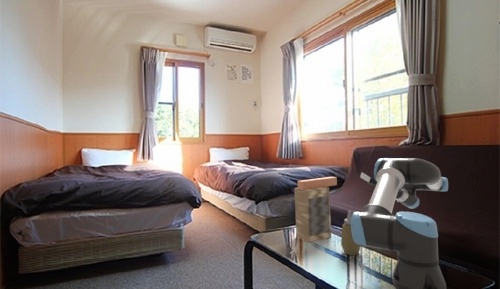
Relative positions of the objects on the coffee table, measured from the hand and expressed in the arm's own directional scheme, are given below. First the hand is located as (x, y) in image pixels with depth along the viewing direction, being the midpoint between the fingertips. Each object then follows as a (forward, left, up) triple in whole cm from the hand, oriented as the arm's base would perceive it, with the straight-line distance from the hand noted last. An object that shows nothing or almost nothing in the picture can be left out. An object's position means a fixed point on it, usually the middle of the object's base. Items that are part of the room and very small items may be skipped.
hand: (371, 175), depth 148 cm
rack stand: (-24, +20, -29) cm, 43 cm away
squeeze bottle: (-30, -4, -30) cm, 43 cm away
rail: (-20, +19, -4) cm, 28 cm away
